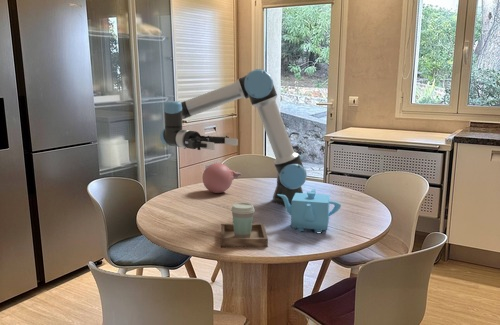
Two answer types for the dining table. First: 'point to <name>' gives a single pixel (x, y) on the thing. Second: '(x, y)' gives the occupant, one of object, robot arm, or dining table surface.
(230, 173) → the pink balloon
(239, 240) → the wooden tray
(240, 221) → the coffee cup
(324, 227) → the teakettle
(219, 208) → the dining table surface
